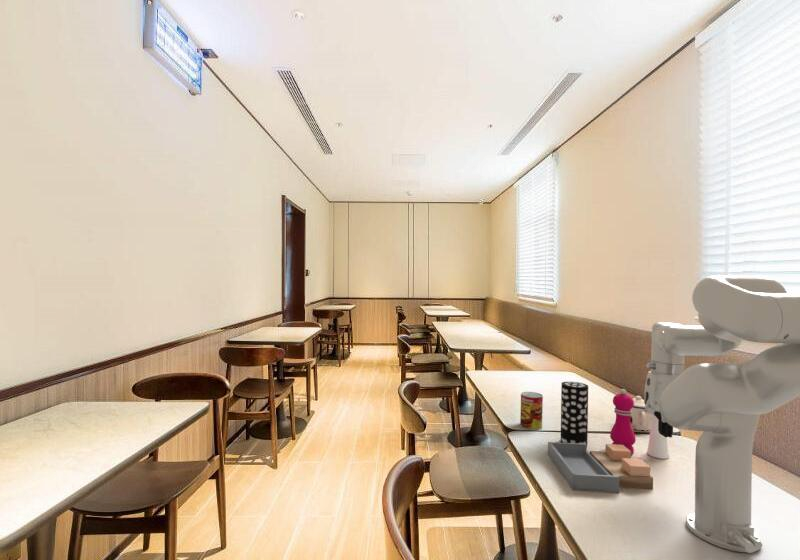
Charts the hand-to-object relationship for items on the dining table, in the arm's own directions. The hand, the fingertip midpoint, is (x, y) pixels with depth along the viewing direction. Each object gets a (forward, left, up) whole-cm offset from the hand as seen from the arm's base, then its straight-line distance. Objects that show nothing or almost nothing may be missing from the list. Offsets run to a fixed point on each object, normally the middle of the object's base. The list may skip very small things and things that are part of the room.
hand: (665, 435), depth 110 cm
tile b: (+9, +8, -10) cm, 16 cm away
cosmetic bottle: (+19, -9, -13) cm, 25 cm away
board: (+4, +10, -13) cm, 17 cm away
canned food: (+41, +25, -13) cm, 50 cm away
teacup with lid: (+44, -16, -13) cm, 49 cm away
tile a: (-1, +8, -10) cm, 13 cm away
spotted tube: (+25, +15, -13) cm, 32 cm away
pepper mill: (+21, +1, -13) cm, 25 cm away
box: (+4, +21, -13) cm, 25 cm away
